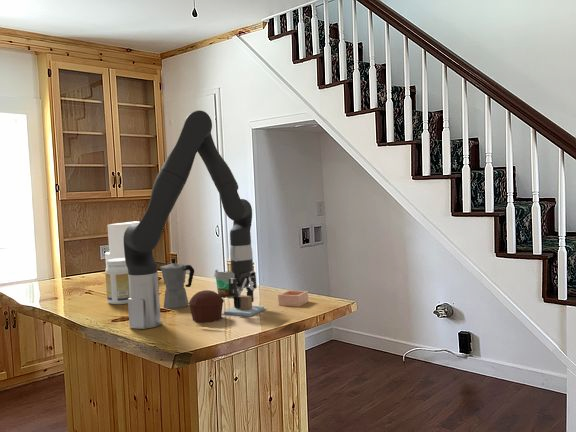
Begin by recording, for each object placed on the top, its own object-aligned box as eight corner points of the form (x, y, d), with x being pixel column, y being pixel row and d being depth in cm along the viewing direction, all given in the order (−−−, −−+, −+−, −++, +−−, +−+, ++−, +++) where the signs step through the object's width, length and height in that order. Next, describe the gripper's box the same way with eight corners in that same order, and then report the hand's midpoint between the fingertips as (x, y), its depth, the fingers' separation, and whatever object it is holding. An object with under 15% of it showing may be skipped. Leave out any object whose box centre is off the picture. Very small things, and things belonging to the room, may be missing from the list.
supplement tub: (145, 298, 223) (142, 256, 222) (128, 305, 212) (125, 261, 211) (118, 298, 227) (115, 257, 226) (101, 304, 215) (97, 261, 214)
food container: (208, 296, 220) (207, 272, 220) (217, 293, 226) (216, 269, 225) (234, 298, 215) (233, 273, 214) (243, 295, 220) (241, 270, 219)
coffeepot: (154, 308, 205) (150, 260, 204) (169, 302, 213) (166, 256, 212) (188, 310, 198) (185, 260, 197) (203, 304, 207) (200, 256, 206)
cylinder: (151, 277, 274) (147, 221, 272) (123, 284, 259) (119, 224, 257) (126, 275, 283) (123, 221, 281) (99, 281, 268) (95, 224, 266)
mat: (250, 319, 180) (250, 317, 180) (220, 317, 186) (219, 314, 186) (268, 311, 191) (268, 308, 191) (238, 309, 196) (238, 306, 196)
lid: (249, 316, 182) (248, 300, 181) (224, 314, 186) (223, 298, 186) (264, 309, 191) (263, 293, 190) (239, 307, 195) (238, 292, 195)
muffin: (182, 322, 181) (181, 292, 181) (210, 315, 189) (208, 286, 188) (204, 328, 173) (202, 296, 172) (232, 320, 180) (230, 290, 180)
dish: (299, 308, 192) (298, 296, 192) (278, 307, 196) (278, 294, 196) (308, 303, 200) (307, 291, 199) (288, 302, 203) (288, 290, 203)
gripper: (242, 254, 195) (245, 300, 196) (220, 260, 183) (223, 309, 184) (261, 255, 192) (263, 301, 193) (240, 261, 179) (242, 310, 180)
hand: (244, 305), depth 188 cm, fingers open, 8 cm apart
